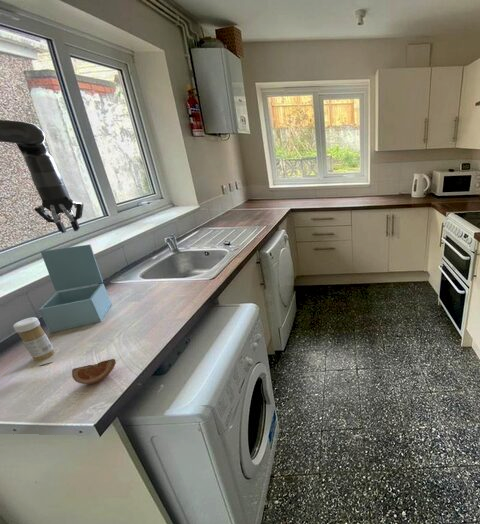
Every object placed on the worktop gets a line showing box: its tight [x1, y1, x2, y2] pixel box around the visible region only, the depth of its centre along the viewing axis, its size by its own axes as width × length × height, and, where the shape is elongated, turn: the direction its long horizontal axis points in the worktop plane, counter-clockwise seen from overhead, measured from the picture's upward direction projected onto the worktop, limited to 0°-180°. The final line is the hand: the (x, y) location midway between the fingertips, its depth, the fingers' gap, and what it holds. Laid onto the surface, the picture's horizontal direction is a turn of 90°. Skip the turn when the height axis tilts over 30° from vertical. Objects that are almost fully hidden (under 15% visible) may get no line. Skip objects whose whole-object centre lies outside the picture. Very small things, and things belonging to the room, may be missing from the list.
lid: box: [40, 243, 104, 292], centre depth 103 cm, size 14×14×1 cm
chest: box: [37, 283, 112, 334], centre depth 101 cm, size 14×14×9 cm
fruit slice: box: [71, 358, 117, 385], centre depth 73 cm, size 8×7×5 cm
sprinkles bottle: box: [12, 316, 56, 367], centre depth 79 cm, size 5×5×13 cm
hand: (70, 231), depth 109 cm, fingers open, 3 cm apart
